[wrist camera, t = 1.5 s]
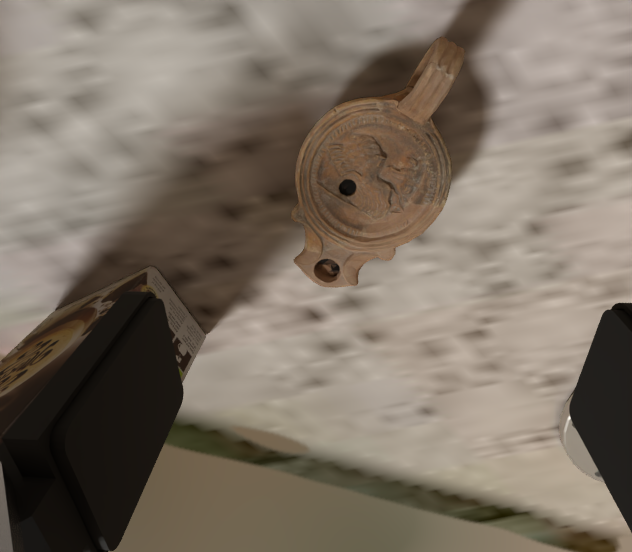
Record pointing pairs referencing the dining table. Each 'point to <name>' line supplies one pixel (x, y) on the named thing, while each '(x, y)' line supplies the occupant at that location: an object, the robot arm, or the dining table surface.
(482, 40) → the dining table surface
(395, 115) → the oil lamp
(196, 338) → the coffee box
